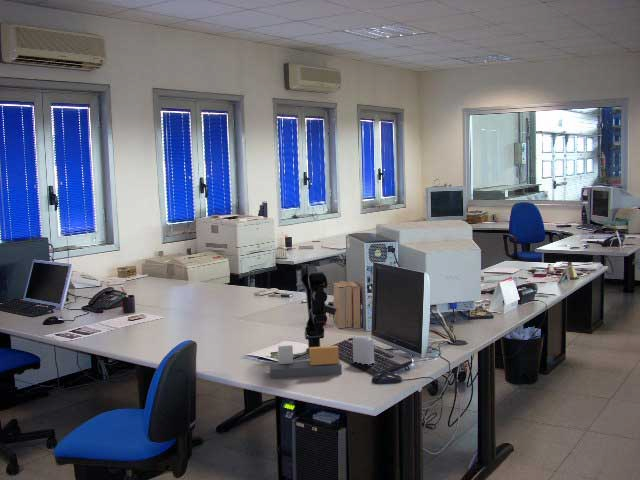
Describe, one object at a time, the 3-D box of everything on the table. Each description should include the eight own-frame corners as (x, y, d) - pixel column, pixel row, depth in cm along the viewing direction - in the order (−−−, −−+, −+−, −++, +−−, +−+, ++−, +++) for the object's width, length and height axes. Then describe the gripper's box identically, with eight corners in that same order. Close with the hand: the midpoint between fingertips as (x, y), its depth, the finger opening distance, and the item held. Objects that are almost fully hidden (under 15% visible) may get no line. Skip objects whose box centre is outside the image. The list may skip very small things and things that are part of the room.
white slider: (278, 362, 296) (278, 346, 295) (292, 361, 297) (292, 345, 296) (279, 364, 293) (278, 348, 292) (293, 363, 294) (292, 347, 293)
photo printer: (351, 362, 307) (351, 335, 306) (358, 360, 310) (357, 333, 309) (369, 366, 300) (369, 338, 299) (375, 364, 303) (375, 336, 302)
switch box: (269, 372, 297) (269, 363, 296) (338, 367, 300) (338, 358, 300) (271, 378, 287) (270, 369, 286) (341, 373, 290) (341, 364, 290)
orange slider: (309, 363, 292) (309, 347, 292) (337, 361, 294) (337, 345, 293) (310, 365, 289) (310, 349, 289) (338, 363, 291) (338, 347, 290)
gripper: (337, 302, 304) (339, 336, 305) (332, 295, 322) (333, 327, 324) (313, 303, 302) (314, 338, 304) (308, 296, 321) (309, 329, 322)
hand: (318, 333), depth 314 cm, fingers open, 9 cm apart
